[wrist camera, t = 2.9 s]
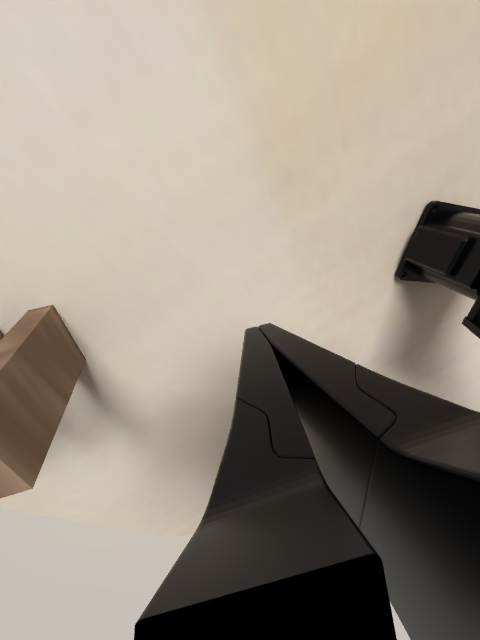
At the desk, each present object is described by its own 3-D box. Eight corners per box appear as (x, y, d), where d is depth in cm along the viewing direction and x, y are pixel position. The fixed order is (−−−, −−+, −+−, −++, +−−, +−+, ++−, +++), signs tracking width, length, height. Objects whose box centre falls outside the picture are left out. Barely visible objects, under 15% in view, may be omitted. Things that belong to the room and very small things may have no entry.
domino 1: (52, 304, 19) (-42, 422, 10) (85, 359, 21) (32, 488, 13) (28, 310, 18) (-89, 435, 10) (64, 364, 21) (-4, 499, 13)
